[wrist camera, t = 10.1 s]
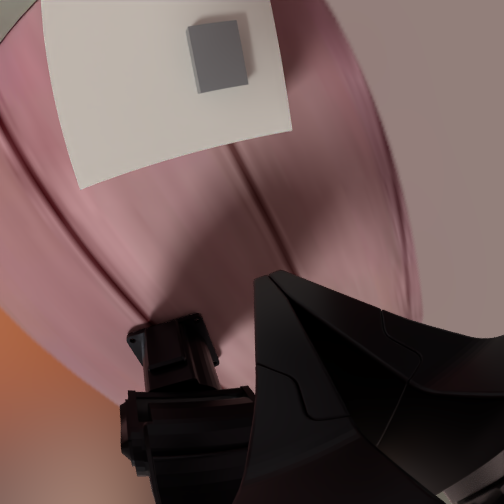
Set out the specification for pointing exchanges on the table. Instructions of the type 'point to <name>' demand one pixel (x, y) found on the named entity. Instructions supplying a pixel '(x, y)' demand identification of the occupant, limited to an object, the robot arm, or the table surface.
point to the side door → (11, 13)
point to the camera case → (161, 79)
